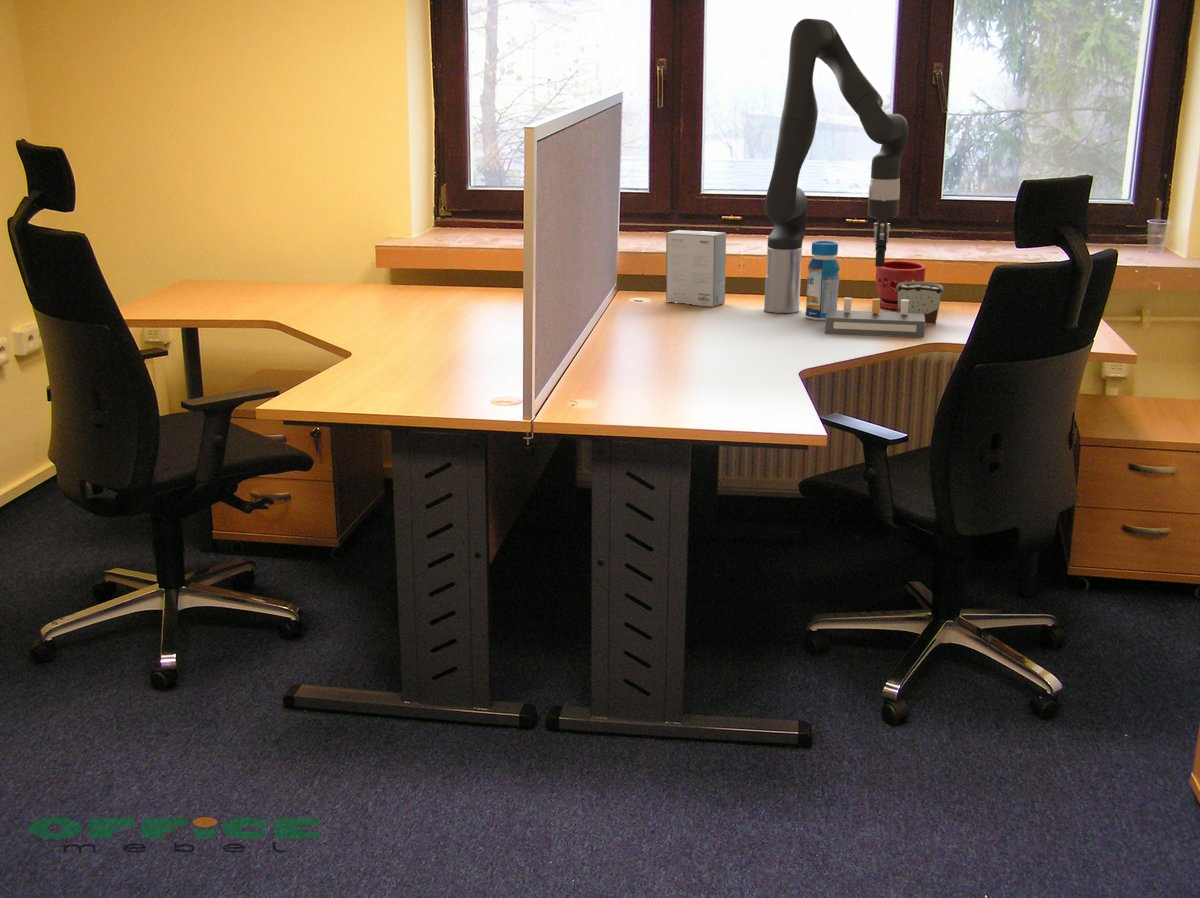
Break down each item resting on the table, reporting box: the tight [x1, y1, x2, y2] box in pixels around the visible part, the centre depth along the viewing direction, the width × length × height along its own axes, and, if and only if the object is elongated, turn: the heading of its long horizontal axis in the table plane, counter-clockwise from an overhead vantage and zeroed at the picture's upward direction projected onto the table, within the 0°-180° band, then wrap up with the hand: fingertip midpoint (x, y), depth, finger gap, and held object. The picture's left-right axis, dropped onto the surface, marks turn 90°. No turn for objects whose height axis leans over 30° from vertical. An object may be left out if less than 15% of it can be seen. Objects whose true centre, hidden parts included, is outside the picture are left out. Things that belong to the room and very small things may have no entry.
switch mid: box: [871, 298, 881, 314], centre depth 294 cm, size 2×1×4 cm
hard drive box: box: [665, 229, 727, 308], centre depth 328 cm, size 16×8×20 cm, turn 58°
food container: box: [895, 281, 945, 326], centre depth 304 cm, size 12×6×10 cm, turn 71°
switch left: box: [843, 297, 853, 312], centre depth 296 cm, size 2×1×4 cm
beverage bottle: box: [805, 240, 840, 322], centre depth 307 cm, size 8×8×20 cm
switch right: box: [900, 300, 909, 315], centre depth 293 cm, size 2×1×4 cm
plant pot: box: [875, 260, 926, 311], centre depth 322 cm, size 13×13×12 cm
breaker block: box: [824, 309, 926, 338], centre depth 294 cm, size 24×10×4 cm, turn 77°
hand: (879, 266), depth 297 cm, fingers closed
